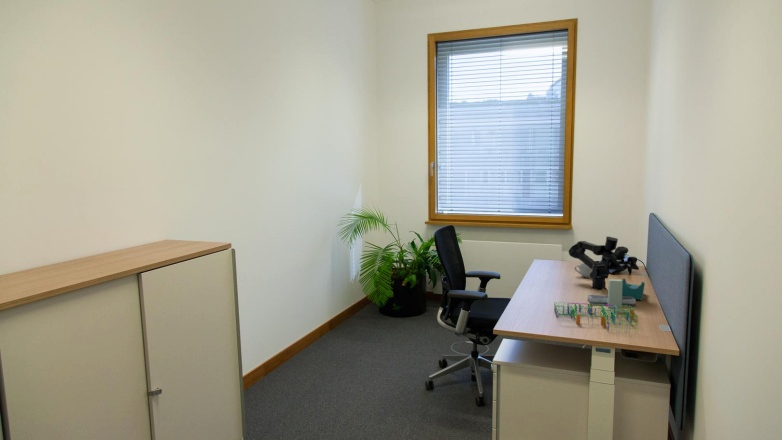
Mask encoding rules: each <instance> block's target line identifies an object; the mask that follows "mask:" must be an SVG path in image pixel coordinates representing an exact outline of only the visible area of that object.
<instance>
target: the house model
mask: <svg viewBox="0 0 782 440" xmlns="http://www.w3.org/2000/svg"><path fill="white" fill-rule="evenodd" d="M553 303H554V304H553V305H554V306H553V310H554V314H555V317H556V318H558V315H559V316H560V315H561V316H570V317H571V320H572V319H573V320H574V319H575V324H576V325H581V324H582V325H585V323H581V318H582V317H588V319H587V320H588V321H587V325H588V326H589V323H590V322H591V325H592V326H593V325H594V319H590V318H589V317H592V318H600V324H597V323H596V326H597V325H598V326H599V325H600V326H601V325H604V328H606V329H607V331H609V330H610V332H612V331H613V329H616V331H619V333H622V331H623V332H624V333H628V332H629V333H630V330H632V331H634V327H636V326H637V327H638V325H639V323H638V315H637V314H636V313H635V309H634V308H633V306H625V305H617V306H620V308H616V306H615V305H607V307H606V305H605V304H590V303H587V305H586V303H582V302H581V303H580V302H563V301H554V302H553ZM562 303H563V305H562ZM560 304H561V305H560ZM564 304H567V305H564ZM572 304H573V305H574V306H573V305H572ZM583 305H585V306H583ZM593 306H595V307H593ZM596 306H598V307H596ZM609 306H612V308H610V309H608V308H609ZM613 306H614V308H613ZM621 306H622V307H625V308H621ZM626 308H627V309H626ZM619 309H620V310H619ZM597 310H599V311H597ZM584 311H585V312H584ZM586 311H587V312H586ZM591 312H593V314H592V313H591ZM601 312H602V313H603V314H602V313H601ZM578 313H579V314H578ZM580 313H581V314H580ZM619 313H624V314H619ZM597 314H599V315H597ZM572 315H573V316H572ZM615 315H616V316H615ZM573 317H574V318H573ZM619 317H620V319H621V320H619V321H616V319H619ZM635 318H636V321H635ZM611 319H612V320H611ZM632 320H633V322H632ZM589 321H590V322H589ZM624 322H627V323H628V326H632V327H625V326H626V325H624ZM616 324H618V326H621V330H619V328H618V326H611V327H610V326H609V325H616ZM633 324H634V326H633ZM623 325H624V326H623ZM609 328H610V329H609ZM612 328H613V329H612ZM625 329H626V331H625ZM628 329H629V330H628ZM638 331H639V330H638V329H637V332H636V331H634V333H635V334H639V333H638Z"/></svg>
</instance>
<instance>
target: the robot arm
mask: <svg viewBox="0 0 782 440" xmlns="http://www.w3.org/2000/svg"><path fill="white" fill-rule="evenodd" d="M618 242H619V239H618V238H617V237H612V236H606V238H605V243H604V244H602V245H601V244H600V245H599V244H595V243H591V242H588V241H586V240H580V241H577V242H576V243H575V244H574V245H572V246H571V247H570V248H569V249H568V255H569V256H570V257H571V258H574V259H578V260H579V261H581V262H582V263H584V264H586V265H587V266H588V267H589V268H591V269H592V272H591V273H590V278H589V279H592V283H591V285H592V286H590V288H591V289H594V290H598V291H602V290H608V287H606V286H607V285H606V279H609V274H610V270H613V271H622V272H623V271H625V268H624V267H623V266H626V268H628V269H629V270H635V271H639V270H640V267H639V266H638V264H637V260H638V258H637V257H636V256H629V257H627V260H625V258H626V256H625V255H626V254H627V253H629V248H628V247H626V246H618ZM586 250H587V251H590V252H592V254H593V255H595V256H601V262H597V261H595V260H594V259H593V258H591V257H590V256H588V254H586Z"/></svg>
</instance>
